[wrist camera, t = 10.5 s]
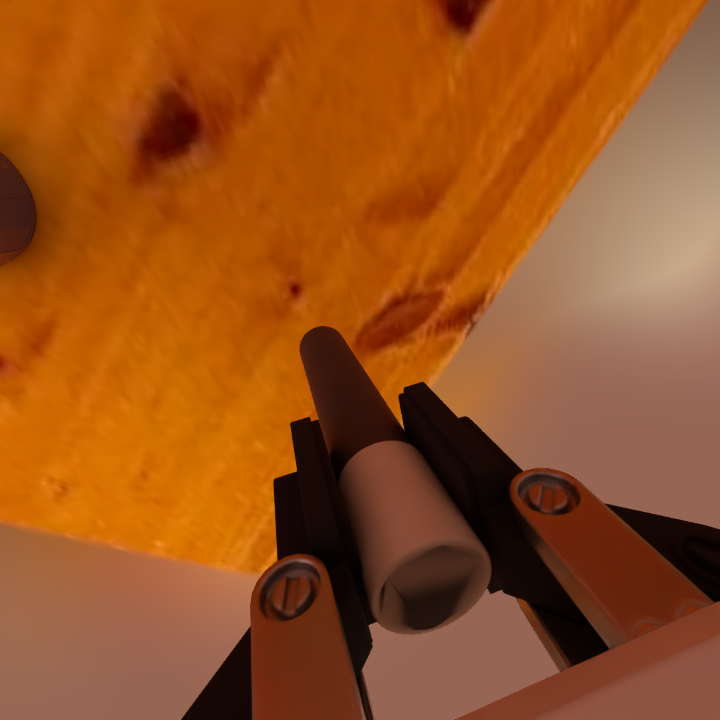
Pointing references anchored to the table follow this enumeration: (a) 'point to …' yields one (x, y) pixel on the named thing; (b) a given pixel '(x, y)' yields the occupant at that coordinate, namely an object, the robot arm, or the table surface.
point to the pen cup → (14, 212)
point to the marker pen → (392, 499)
